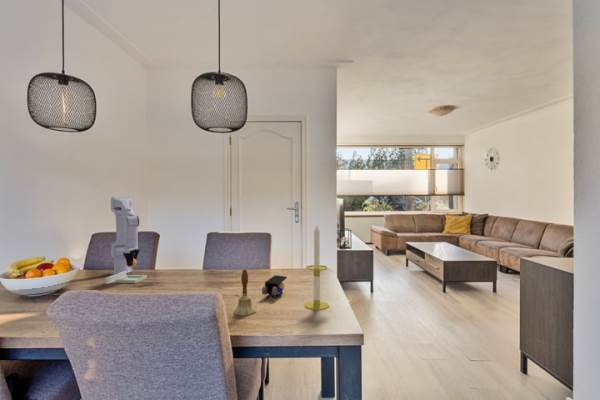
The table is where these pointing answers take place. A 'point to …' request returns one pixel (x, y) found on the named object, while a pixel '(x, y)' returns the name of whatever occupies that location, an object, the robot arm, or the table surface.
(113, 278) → the wall
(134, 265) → the ball
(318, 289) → the candle
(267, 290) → the figurine character
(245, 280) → the hand bell
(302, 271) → the table surface
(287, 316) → the table surface
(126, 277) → the tray
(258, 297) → the table surface
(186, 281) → the table surface
